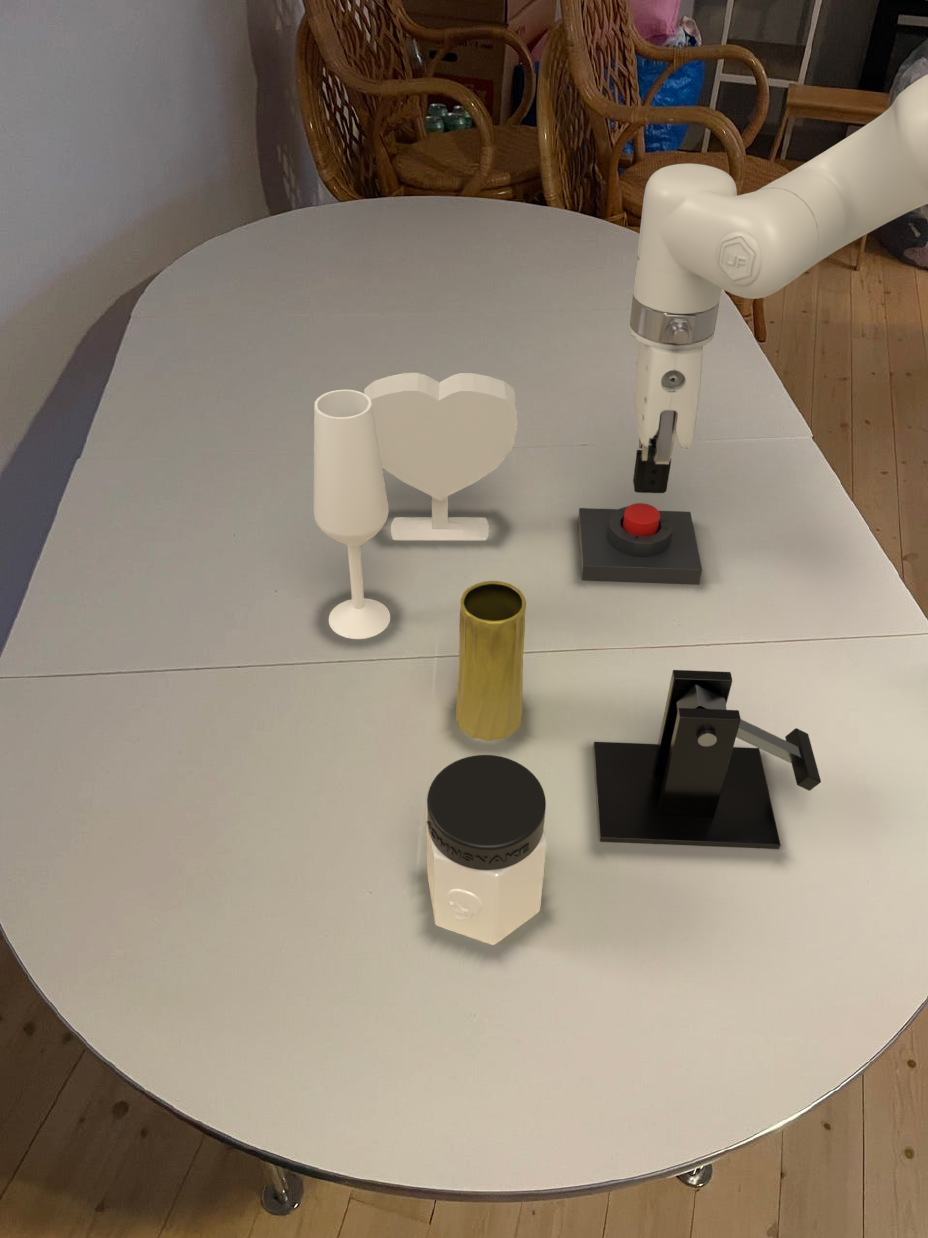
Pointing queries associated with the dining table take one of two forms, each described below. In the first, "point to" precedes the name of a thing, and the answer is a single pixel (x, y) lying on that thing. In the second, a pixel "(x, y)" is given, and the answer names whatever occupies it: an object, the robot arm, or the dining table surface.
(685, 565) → the switch block
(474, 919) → the jar
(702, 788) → the bracket
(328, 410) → the champagne flute
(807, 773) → the lever
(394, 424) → the heart sculpture
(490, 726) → the vase
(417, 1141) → the dining table surface
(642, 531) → the button
